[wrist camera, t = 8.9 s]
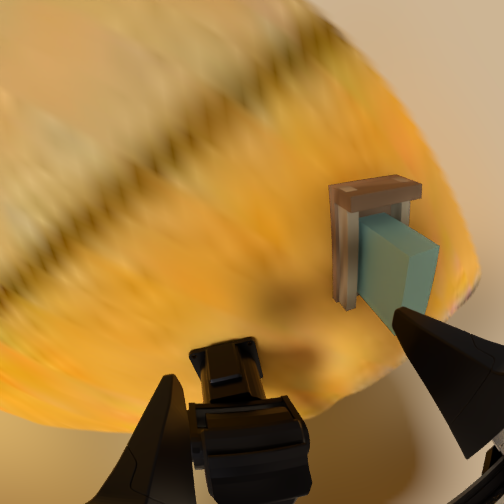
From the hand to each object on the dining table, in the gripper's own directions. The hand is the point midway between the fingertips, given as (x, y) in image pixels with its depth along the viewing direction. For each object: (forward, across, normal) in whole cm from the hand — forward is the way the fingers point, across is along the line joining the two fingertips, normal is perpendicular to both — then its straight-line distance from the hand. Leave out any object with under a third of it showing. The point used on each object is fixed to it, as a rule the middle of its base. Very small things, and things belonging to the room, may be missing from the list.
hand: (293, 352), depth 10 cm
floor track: (+12, -11, +4) cm, 17 cm away
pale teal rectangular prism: (+12, -11, +4) cm, 17 cm away
